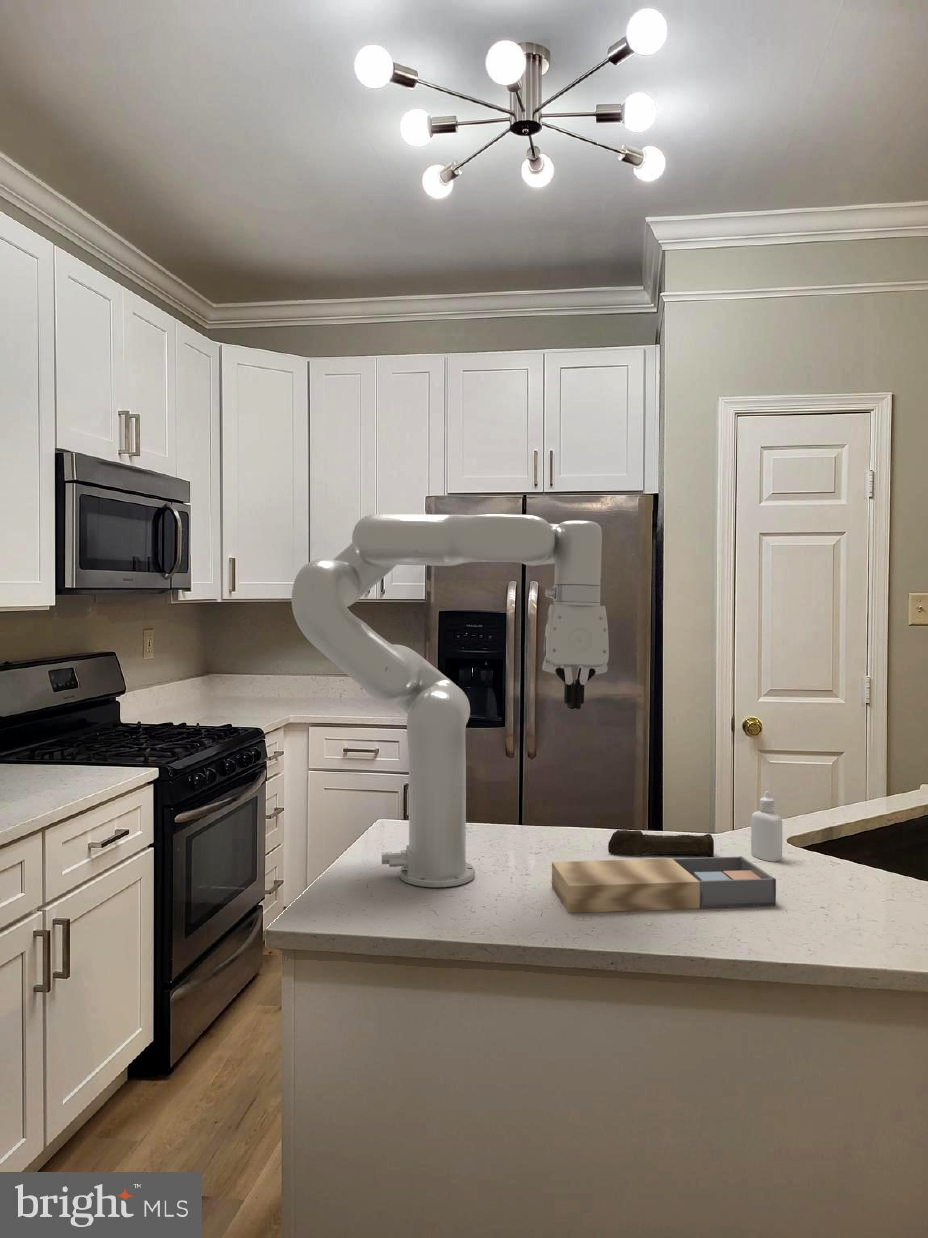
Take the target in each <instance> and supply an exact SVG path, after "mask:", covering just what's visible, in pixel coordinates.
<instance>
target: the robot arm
mask: <svg viewBox="0 0 928 1238" xmlns="http://www.w3.org/2000/svg"><path fill="white" fill-rule="evenodd" d="M351 540H352V541H351V543H350V544H349V545H348V546H347V547H346V548H345V549H344V550H342V551H341V552H340V553H339V554H338V555H336V556H335V557H334V558H333V559H329V558H320V559H314V560H312V561H310V562H308V563H306V564H304V566H302V567H301V569H300V570H299V571H298V573H297V574H296V575H295V579H294V581H293V584H292V591H291V608H292V613H293V616H294V620H295V622H296V624H297V627H298V628H299V629H300V631H301V632H302V634H303V635H304V636H305V638H306V639H307V640H308V641H309V642H310V643H311V645H313V646H314V647H315V648H316V649H317V650H318V651H320V653H322V654H323V655H324V656H325V657H327V659H329V660H330V661H331V662H332V663H334V664H335V666H337V668H339V669H340V670H341V671H342V672H344V674H346V675H347V676H348V677H349V678H351V679H352V680H353V681H354V682H355V683H357V684H358V685H359V686H360V687H361V688H362V689H363V690H364V691H365V692H367V693H368V694H369V695H370V696H371V697H373V698H374V699H375V700H377V701H379V702H382V703H394V704H396V705H397V706H398V707H399V708H400V709H401V710H402V711H404V712H405V713H407V719H406V735H407V748H408V749H407V750H408V804H409V805H408V845H407V844H406V847H405V849H404V850H403V849H402V850H400V852H381V865H388V866H389V868H398V867H400V869H399V878H400V880H402V881H403V882H405V883H407V884H409V885H413V886H417V887H424V888H448V887H457V886H460V885H461V886H462V885H465V884H467V883H469V882H471V881H472V880H473V879H474V878H475V877H476V869H475V867H474V866H473V865H472V864H471V863H467V862H466V859H467V858H466V857H467V856H466V853H467V851H466V850H467V849H466V845H467V844H466V841H467V839H466V838H467V837H466V836H467V835H466V833H467V832H466V831H467V823H466V822H467V820H466V819H467V816H466V815H467V809H466V808H467V803H466V802H467V782H466V781H467V780H466V779H467V756H466V755H467V753H466V749H467V748H466V730H467V729H466V727H467V724H468V722H469V720H470V715H471V706H470V705H471V703H470V701H469V698H468V697H467V695H466V693H465V691H463V689H462V688H460V687H459V686H458V685H456V683H454V682H453V681H452V680H451V679H450V678H449V677H447V676H446V675H445V674H443V673H442V672H441V671H440V670H439V669H437V668H436V667H435V666H434V665H432V664H431V663H430V662H429V661H428V660H426V658H424V657H423V656H421V654H419V653H418V652H416V651H415V650H413V649H411V647H410V648H409V647H408V646H405V645H402V644H392V643H390V642H389V641H387V640H386V639H385V638H383V636H381V635H379V634H378V633H377V632H376V631H375V630H373V628H372V627H370V626H369V625H368V624H367V623H366V622H364V621H363V620H362V619H361V618H359V617H357V616H356V614H353V613H352V612H351V611H350V609H349V608H348V607H350V606H352V605H353V604H355V603H356V602H357V601H358V600H360V599H361V598H362V597H364V595H365V594H366V593H368V592H369V591H370V590H371V589H373V587H374V586H375V585H376V584H378V583H379V582H380V581H382V579H384V578H385V577H386V576H387V575H388V574H389V573H390V572H391V571H392V570H393V569H394V568H395V567H397V566H398V565H399V566H435V567H436V566H437V567H438V566H439V567H447V566H448V567H450V566H452V567H453V566H457V565H462V564H465V563H466V564H467V563H478V562H481V563H482V562H488V563H489V562H491V563H492V562H494V563H496V562H497V563H499V562H501V563H520V564H523V565H525V566H531V567H534V566H535V567H536V566H544V565H552V564H554V585H553V586H552V587H550V588H545V591H544V592H545V593H544V595H545V597H546V598H551V599H552V602H553V604H549V607H548V611H547V618H546V622H545V623H546V624H545V631H544V632H545V633H544V639H543V663H542V666H541V667H542V668H541V669H542V671H544V672H547V673H550V674H553V675H554V674H555V675H556V676H557V677H558V678H559V679H560V680H561V682H562V683H564V693H563V694H564V695H563V701H564V704H566V708H568V709H570V710H575V709H576V710H581V708H582V707H581V706H582V705H583V704H584V703H585V686H586V685H587V683H588V681H590V680H591V679H592V678H593V677H594V676H595V675H600V674H604V673H607V672H608V661H609V656H610V653H609V652H610V648H609V644H610V643H609V642H610V641H609V627H608V617H607V610H606V606H605V605H601V578H602V546H603V545H602V544H603V542H602V541H603V530H602V527H601V525H600V524H599V523H597V522H595V521H591V520H565V521H561V522H560V523H559V524H558V523H549V522H548V520H546V519H544V518H543V517H541V516H536V515H529V514H429V513H428V514H425V513H423V514H420V513H417V514H415V513H373V514H368V515H365V516H363V517H361V518H360V519H359V520H358V521H357V522H356V524H355V525H354V528H353V530H352V534H351ZM559 666H560V667H559ZM572 667H578V669H577V673H576V678H575V680H573V671H572V670H573V669H572Z"/></svg>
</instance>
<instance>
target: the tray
mask: <svg viewBox="0 0 928 1238" xmlns="http://www.w3.org/2000/svg"><path fill="white" fill-rule="evenodd" d="M672 859H673V860H674V861H675V862H677V863H678V864H679V865H680V866H681V867H683V868H684V869H685V870H686V871H687V872H689V873H690V874H691V875H692V876H693V877H694V872H722V873H723V871H745V870H750V871H752V872H753V873H754V874H756V875H757V876H759V877H760V878H761V879H737V880H706V881H699V882H700V908H699V909H715V908H716V909H717V908H718V909H721V908H741V907H742V908H745V907H746V908H747V907H774V906H776V904H777V903H776V902H777V879H776V878H775V877H774V876H772V875H770V874H769V873H767V872H766V871H764V870H763V869H761V868H760V867H758V866H757V865H755V864H754V863H752V862H751V861H749V860H748V859H746V858H745V857H743V856H720V857H719V856H718V857H717V856H713V857H710V856H709V857H683V858H681V857H680V858H679V857H677V858H672Z"/></svg>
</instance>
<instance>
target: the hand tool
mask: <svg viewBox="0 0 928 1238" xmlns="http://www.w3.org/2000/svg"><path fill="white" fill-rule="evenodd" d="M607 846H608V847H607V851H608V852H607V853H609V854H612V855H617V856H618V855H619V856H628V857H630V856H631V857H641V856H643V855H645V854H646V855H647V854H669V855H673V854H674V855H692V856H693V855H696V856H699V855H708V856H709V857H714V854H715V840H714V838H713V836H712V834H711V833H706V834H704V835H692V834H677V835H670V834H669V835H667V834H666V835H661V834H658V835H656V834H644V833H643V832H642V831H641V830H629V829H627V830H626V829H618V830H616V831H614V832H613V833H612V835H611V837H610V839H609V840H608V845H607Z"/></svg>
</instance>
